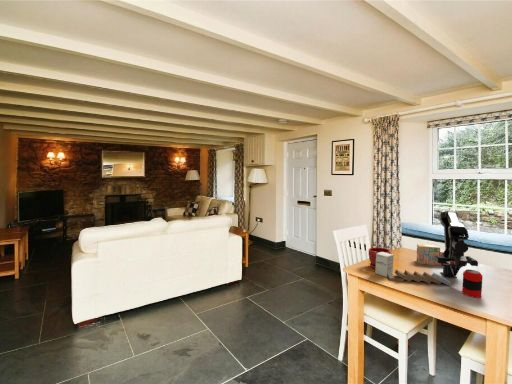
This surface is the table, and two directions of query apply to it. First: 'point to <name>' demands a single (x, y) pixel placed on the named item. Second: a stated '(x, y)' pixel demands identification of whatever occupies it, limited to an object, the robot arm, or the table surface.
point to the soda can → (472, 283)
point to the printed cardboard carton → (428, 254)
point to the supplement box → (384, 264)
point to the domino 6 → (441, 278)
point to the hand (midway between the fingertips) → (454, 275)
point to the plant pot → (373, 255)
